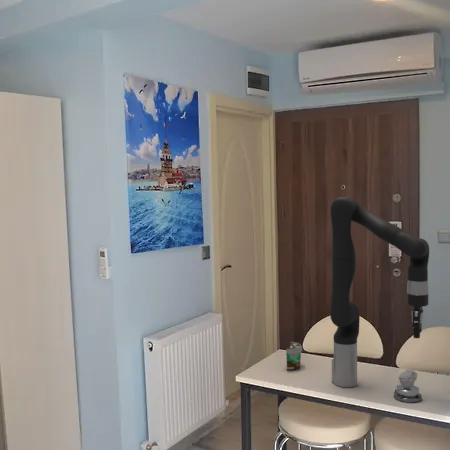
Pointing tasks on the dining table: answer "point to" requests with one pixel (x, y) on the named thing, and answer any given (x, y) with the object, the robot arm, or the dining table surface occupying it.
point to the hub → (407, 394)
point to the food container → (293, 356)
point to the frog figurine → (408, 378)
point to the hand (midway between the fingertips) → (417, 335)
